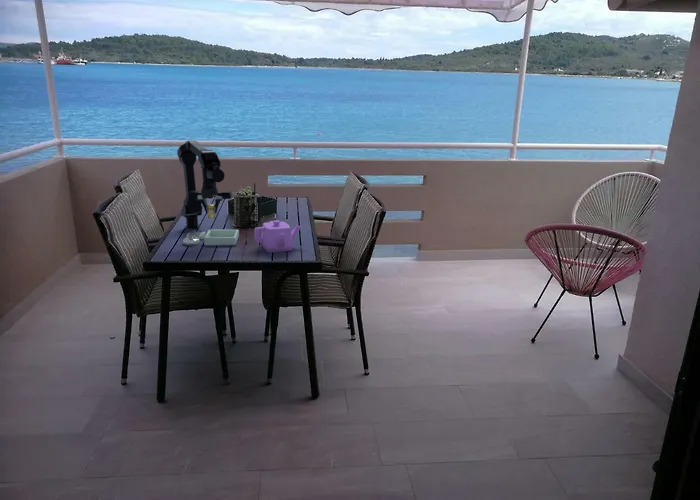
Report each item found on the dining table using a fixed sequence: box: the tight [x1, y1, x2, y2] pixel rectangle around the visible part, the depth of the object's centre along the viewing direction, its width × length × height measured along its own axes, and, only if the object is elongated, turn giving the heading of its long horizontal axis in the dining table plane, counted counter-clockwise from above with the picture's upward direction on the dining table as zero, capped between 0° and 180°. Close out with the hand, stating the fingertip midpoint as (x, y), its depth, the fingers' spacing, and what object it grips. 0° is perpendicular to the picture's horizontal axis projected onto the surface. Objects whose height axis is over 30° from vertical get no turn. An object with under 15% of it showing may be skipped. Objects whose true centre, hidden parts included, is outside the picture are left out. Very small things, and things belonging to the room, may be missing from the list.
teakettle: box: [253, 219, 301, 253], centre depth 221 cm, size 17×17×12 cm
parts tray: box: [203, 229, 240, 246], centre depth 229 cm, size 14×14×4 cm
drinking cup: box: [253, 183, 263, 222], centre depth 264 cm, size 8×8×20 cm
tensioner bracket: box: [182, 231, 207, 247], centre depth 229 cm, size 17×8×3 cm, turn 5°
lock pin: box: [206, 203, 216, 219], centre depth 227 cm, size 4×4×6 cm
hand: (211, 213), depth 227 cm, fingers closed on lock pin, 4 cm apart
